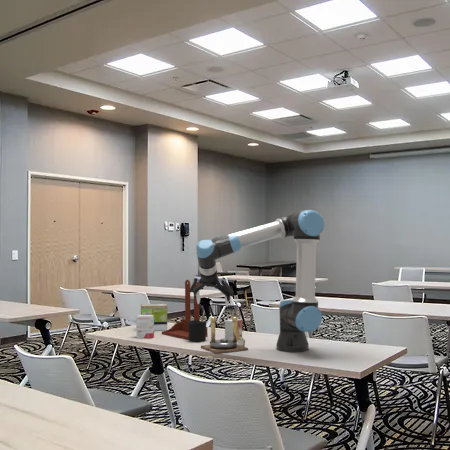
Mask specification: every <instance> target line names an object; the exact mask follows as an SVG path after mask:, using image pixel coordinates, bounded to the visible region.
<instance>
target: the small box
mask: <svg viewBox="0 0 450 450" xmlns="http://www.w3.org/2000/svg"><path fill="white" fill-rule="evenodd" d="M241 337H242V338H243V319H241V318H238V321H237V342H238V340H239V338H241ZM224 338H226V339H228V340H233V321H232V318H231V319H225V320H224Z"/></svg>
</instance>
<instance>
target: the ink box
mask: <svg viewBox="0 0 450 450" xmlns="http://www.w3.org/2000/svg"><path fill="white" fill-rule="evenodd" d="M135 326H136V328H135V329H136V330H135V331H136V339H153V338H154V337H155V331H154V315H141V314H138V315H136V316H135Z"/></svg>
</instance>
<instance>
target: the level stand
mask: <svg viewBox="0 0 450 450" xmlns="http://www.w3.org/2000/svg"><path fill="white" fill-rule="evenodd" d="M200 349H203V350H205V351H208V352H210V353H213V354H216V355H219V354H220V355H221V354H222V355H223V354H230V353H237V352H245V351H246V352H247V351H249V347H246V339H245V338H243V336H242V337H241V338H239V340H238V341H237V347H234V348H224V349H222V348H212V347H210V344H205V345H200Z"/></svg>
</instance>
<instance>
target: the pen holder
mask: <svg viewBox="0 0 450 450" xmlns="http://www.w3.org/2000/svg"><path fill="white" fill-rule="evenodd" d="M206 327H207V321H206V320H205V321H201V320H200V319H199V320H194V319H193V320H192V319H191V321H188V333H189V340H188V341H189V342H191V343H202V342H205V341H206V340H207V337H206Z"/></svg>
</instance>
